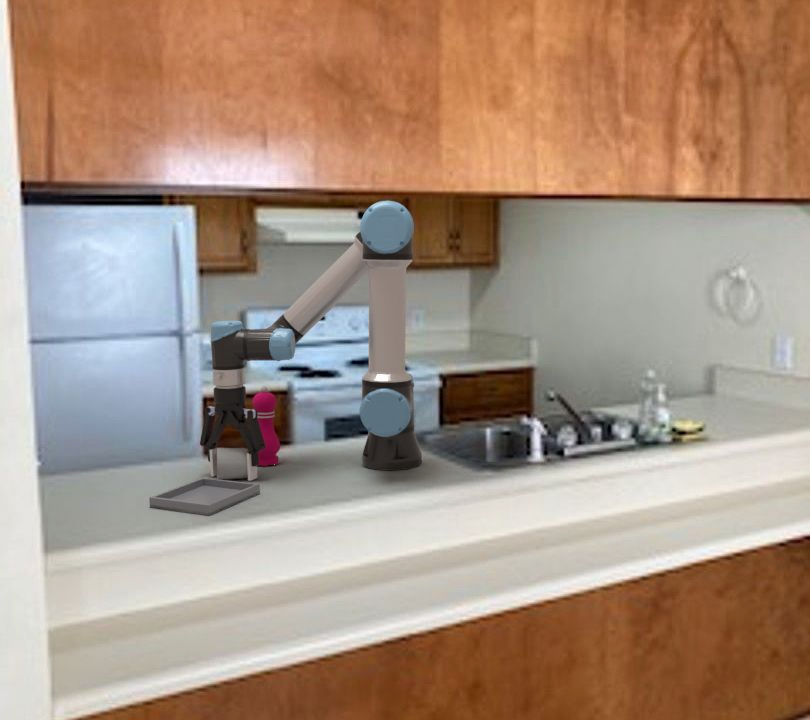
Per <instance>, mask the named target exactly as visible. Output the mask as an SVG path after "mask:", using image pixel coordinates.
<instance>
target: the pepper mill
mask: <svg viewBox="0 0 810 720" xmlns="http://www.w3.org/2000/svg"><path fill="white" fill-rule="evenodd" d="M268 390H269V388H268V387H267V386H266V385H263V386H261V388H260V392H258V393H257V394H255V395H254V396H253V398H252V406H253V409H257V419H258V422H259V426H260V429H261V432H262V436H263V439H264V442H265V446H266V448H265V449H264V450H261V451H259V465H261V466H260V467H269V466H268V465H273V466H275V465H274V464H276V465H278V464H279V463H278V462H279V455H277V454H278V453H279V451H280V449H281V443H280V440H279V437H278V435H277V433H276V431H275V427H274V417H275V416H276V415H275V412H276V411H275V410H274V409H275V408H276V407H277V399H276V396H275V395H274V394H273V393H272V392H269V391H268ZM277 463H278V464H277Z"/></svg>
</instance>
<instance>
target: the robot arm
mask: <svg viewBox="0 0 810 720" xmlns="http://www.w3.org/2000/svg"><path fill="white" fill-rule="evenodd" d="M361 217H362V218H361V221H360V225H359V232H358V233H356V235H354V242H353V244H351V246H349V248H348V249H346V250H345V251H344V252H343V254H341V255H340V257H338V258H337V260H336V261H334V262H333V263H332V264H331V266H329V268H328V269H326V270H325V272H324V273H322V274H321V275H320V277H318V278H317V280H316V281H315V282H313V283H312V284H311V286H310V287H309V288H307V290H306V291H304V292H303V294H302V295H300V296H299V297H298V298H297V300H295V301H294V303H292V305H290V307H288V308H287V309H286V311H285V312H284V313H283V314H282V315H281V316H279V317H278V318H277V319H276V320H275V321H274V322H273V323H272V324H271V325H270V326H269V327H266V328H254V329H253V328H252V329H249V328H245V327H244V325H243V322H242V321H240V320H219V321H215V322H213V323H212V324H211V326H210V340H209V342H210V347H211V349H210V350H211V364H212V379H213V380H212V383H213V384H212V385H213V386H215V387H214V388H213V402H214V404H215V405H211V406H207V407H204V420H203V425H202V431H201V435H200V440H199V445H200V446H201V447H205V448H206V450H207V461H208V462H209V466H210V477H215V476H216V477H217V448H218V443H219V440H220V438H221V437H222V435H223V431H224V430H225V427H226V426H227V425H230V426H234V428H235V429H237V431H238V432H239V434H240V436H241V439H242V440H243V442H244V444H245V447H246V449H248V450H249V453H247V470H248V478H247V481H254V480H256V479H258V467H259V466H258V465H259V451H261V450H264V449H265V448H266V446H265V442H264V439H263V436H262V432H261V429H260V426H259V422H258V419H257V409H255V408H253V409H249V408H247V407H246V402H247V391H246V390H247V389H246V386H245V384H246V382H247V381H246V370H245V367H246V366H245V362H251V361H256V362H257V361H273V362H274V361H277V362H281V361H291V360H292V359H293V358H294V356H295V353H296V344H298V343H299V342H300V340H302V338H304V336H305V335H307V334H308V332H310V330H311V329H312V328H313V327H314V326H316V325H317V323H319V322H320V320H321V319H323V317H325V316H326V315H327V313H329V312H330V311H331V310H332V309H333V308H334V307H335V306H336V305H337V304H338V303H339V302H340V301H342V299H343V298H344V297H345V296H346V295H347V294H348V293H349V292H350V291H351V290H352V289H353V288H354V287H356V285H357V284H359V282H360V281H361V280H362V279H364V277H365V276H366V275H367V274H368V370H367V371H366V372H365V374H364V375H363V376H362V377H361V403H360V405H359V417H360V421H361V422H362V425H363V426H364V427H365V429H366V430H367V432H368V433H367V437H366V441H365V444H364V448H363V450H362V451H363V452H362V453H361V455H362V456H361V464H362V466H363V467H365V468H368V469H372V470H378V471H379V470H381V471H397V470H399V471H400V470H407V469H412V468H416V467H419V466H421V465H422V463H423V455H422V451H421V450H422V449H420V445H419V443H418V439H417V437H416V433H415V407H414V405H415V404H414V403H415V401H414V399H415V398H414V386H415V382H414V376H413V374H411V373H408V372H407V370H406V332H407V331H406V327H407V326H406V319H407V318H406V316H407V314H406V312H407V309H406V308H407V304H406V303H407V301H406V300H407V268H408V266H410V264H411V263H412V262H413V261H414V258H413V257H414V235H415V230H416V227H415V221H414V218H413V216H412V214H411V212H410V211H409V209H407V208H406V207H405V206H404V205H403V204H401V203H400V202H397V201H394V200H380V201H378V202H375V203H373V204H372V205H370V206H369V207H368V208H367V209H366V211H365V212H364V214H363V216H361Z"/></svg>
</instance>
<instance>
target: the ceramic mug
mask: <svg viewBox="0 0 810 720" xmlns="http://www.w3.org/2000/svg"><path fill="white" fill-rule="evenodd" d="M216 448H217V475H216V479H219V480H228V481H229V480H238V479H239V480H240V479H241V480H242V479H243V480H244V479H248V470H247V453H249V450H248V448H245V447H216Z"/></svg>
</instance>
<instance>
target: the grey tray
mask: <svg viewBox="0 0 810 720" xmlns="http://www.w3.org/2000/svg"><path fill="white" fill-rule="evenodd" d="M260 485H261V484H260V483H253V482H245V481H236V480H235V481H234V480H229V479H228V480H219V479H217V478H211V477H200V478H198V479H196V480H192V481H190V482H187V483H185V484H182V485H179V486H176V487H174V488H171V489H168V490H166V491H163V492H161V493H157V494H155V495H152V496H150V497H149V500H148V501H149V508H152V509H157V510H158V509H159V510H166V511H173V512H179V513H187V514H194V515H201V516H202V515H203V516H208V515H209V516H212V515H215V514H217V513H219V512H221V511H223V510H226V509H228V508H231V507H233V506H235V505H238V504H240V503H242V502H244V500H245V501H246V500H249V499H251V498H254V497H256V496H257V494H258V495H260V494H261V487H260ZM259 493H260V494H259ZM255 495H256V496H255ZM253 496H254V497H253ZM248 498H249V499H248ZM239 502H240V503H239ZM237 503H238V504H237ZM216 512H217V513H216ZM214 513H215V514H214Z"/></svg>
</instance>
